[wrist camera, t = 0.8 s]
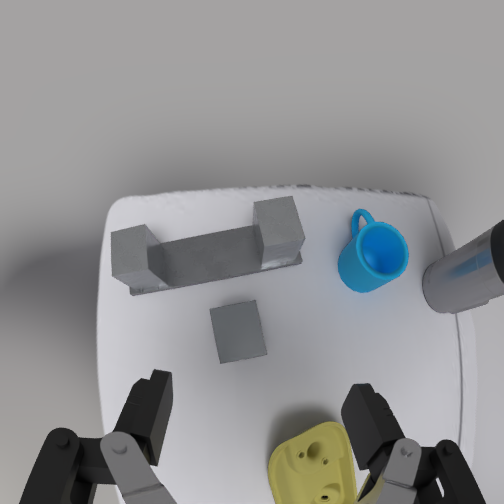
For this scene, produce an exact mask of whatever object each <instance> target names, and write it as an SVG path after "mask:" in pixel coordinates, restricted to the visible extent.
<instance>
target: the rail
mask: <svg viewBox="0 0 504 504" xmlns="http://www.w3.org/2000/svg"><path fill="white" fill-rule="evenodd" d="M304 240H305V236H304V232H303V229H302V226H301V222H300V219H299V216H298V213H297V209H296V206H295V203H294V200H293V197H292V196H288V197H282V198H276V199H270V200H264V201H258V202H254V210H253V226H247V227H242V228H237V229H231V230H226V231H221V232H216V233H211V234H206V235H201V236H196V237H191V238H186V239H181V240H176V241H171V242H166V243H161V244H160V243H159V241H158V240H157V239H156V238H155V236H154V235H153V234H152V232H151V231H150V230H149V229H148V227H147V226H146V225H145V224H144V225H139V226H135V227H131V228H127V229H123V230H118V231H114V232H111V264H112V277H114V278H116V279H117V280H119V281H121V282H123V283H124V284H126V285H128V286H129V287H130V295H132V296H135V295H141V294H147V293H152V292H158V291H164V290H169V289H175V288H180V287H185V286H191V285H196V284H202V283H207V282H212V281H217V280H223V279H228V278H233V277H238V276H243V275H248V274H253V273H258V272H263V271H268V270H273V269H278V268H283V267H288V266H292V265H297V264H301V263H302V258H301V254H300V249H301V247H302V245H303V242H304Z"/></svg>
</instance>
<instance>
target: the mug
mask: <svg viewBox="0 0 504 504" xmlns="http://www.w3.org/2000/svg"><path fill="white" fill-rule="evenodd" d="M361 215H362V216H363V217H364V218H365V220H366V222H367V225H366V226H365V227H363V228H362V229H361V230H360V231H359V218H360V216H361ZM351 227H352V238H353V239H352V241H351V242H350V243H349V244H348V245H347V246H346V247H345V248H344V250H343V251H342V253H341V254H340V256H339V260H338V272H339V274H340V277H341V279H342V281H343V282H344V283H345V284H346V286H348V287H349V288H350V289H352V290H353V291H357V292H360V293H365V292H370V291H372V290H374V289H376V288H378V287H380V286H382V285H384V284H386V283H388V282H389V281H391V280H393V279H395V278H397V277H399V276H400V275H401V274H402V273H403V272H404V271H405V269H406V266H407V264H408V257H409V253H408V247H407V244H406V242H405V240H404V238H403V236H402V235H401V234H400V232H399V231H398V230H397V229H395V228H394V227H393V226H391V225H389V224H387V223H384V222H375V221H374V219H373V218H372V216H371V214H370V213H369V212H367V211H366V210H364V209H358V210H356V211H355V212H354V214H353V217H352V223H351Z"/></svg>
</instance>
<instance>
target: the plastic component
mask: <svg viewBox="0 0 504 504" xmlns="http://www.w3.org/2000/svg"><path fill="white" fill-rule="evenodd" d="M324 460H325V461H324ZM268 478H269V484H270V487H271V490H272V494H273V497H274V500H275V503H276V504H353V503H354V501H355V500H356V498H357V488H356V480H355V472H354V465H353V458H352V451H351V446H350V441H349V437H348V434H347V432H346V430H345V428H344V427H343V426H342V425H341V424H339V423H337V422H332V421H328V422H323V423H320V424H318V425H315V426H313V427H311V428H310V429H308V430H306V431H304V432H303V433H301V434H299V435H297V436H295V437H293V438H291V439H289V440H287V441H285V442H283V443H282V444H280V445H279V446H278V447H277V448H276V449H275V450H274V452H273V453H272V455H271V457H270V460H269V465H268ZM322 496H328V497H327V498H322Z"/></svg>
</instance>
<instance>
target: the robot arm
mask: <svg viewBox="0 0 504 504" xmlns="http://www.w3.org/2000/svg"><path fill="white" fill-rule="evenodd" d="M423 291H424V295H425V298H426V300H427V302H428V304H429V305H430V306H431V308H432V309H434V310H435V311H436V312H439V313H447V312H450V313H452V314H455V313H459V312H462V311H466V310H469V309H472V308H476V307H479V306H483V305H486V304H487V303H488V302H489V300H490V299H493V298H496V297H499V296H501V295H504V220H502V221H501V222H499V223H498V224H496V225H495V226H494V227H492V228H491V229H489V230H488V231H486V232H484V233H483V234H482V235H480V236H478V237H477V238H475V239H474V240H472V241H470V242H469V243H467V244H466V245H464V246H462V247H461V248H459V249H457V250H456V251H454V252H452V253H451V254H449V255H447V256H446V257H444V258H442V259H440V260H439V261H437V262H435V263H433V264H432V265H430V266H429V267H428V269H427V270H426V272H425V274H424V278H423ZM172 404H173V386H172V373H171V372H167V371H162V370H156V369H154V370H153V373H152V375H151V378H150V380H147V379H143V378H141V379H140V380H138V381H137V382H136V383H135V384H134V385H133V387H132V389H131V391H130V393H129V396H128V398H127V400H126V403H125V405H124V407H123V409H122V412H121V414H120V416H119V419H118V421H117V424H116V426H115V428H114V430H113V431H112V432H111V433H109V434H107V435H105V436H104V437H103V438H95V439H94V438H80V437H78V436H77V435H76V434H75V433H74V432H73V431H72V430H70V429H67V428H56V429H54V430H52V431H51V432H50V433H49V434H48V436H47V438H46V440H45V442H44V444H43V446H42V448H41V450H40V453H39V455H38V457H37V459H36V462H35V464H34V467H33V469H32V471H31V474H30V476H29V478H28V481H27V484H26V486H25V489H24V492H23V494H22V497H21V500H20V503H19V504H93V499H94V496H95V492H96V488H97V484H113V485H117V486H118V488H119V490H120V492H121V494H122V497H123V499H124V501H125V503H126V504H177V503H176V502H175V500H174V499H173V498H172V496H171V495H170V493H169V492H168V490H167V489H166V488H165V486H164V485H163V484H161V483H160V481H159V480H158V478H157V477H156V475H155V474H154V472H153V470H152V469H151V467H150V465H153V466H158V462H159V458H160V453H161V449H162V445H163V441H164V437H165V433H166V429H167V425H168V421H169V417H170V413H171V409H172ZM341 416H342V420H343V423H344V426H345V428H346V431H347V434H348V437H349V440H350V443H351V446H352V449H353V452H354V455H355V458H356V461H357V464H358V467H359V470H365V469H369V471H370V473H369V474H368V476H367V478H366V480H365V482H364V484H363V486H362V488H361V490H360V492H359V494H358V496H357V498H356V500H355V501H354V503H353V504H486V503H485V500H484V498H483V496H482V494H481V491H480V489H479V487H478V485H477V483H476V481H475V479H474V477H473V475H472V472H471V470H470V468H469V466H468V464H467V462H466V460H465V459H464V457H463V455H462V453H461V451H460V449H459V447H458V446H457V444H456V443H455V442H453V441H451V440H442V441H440V442H439V443H438V444H437V445H436V446H435V447H420V445H419V444H418V443H417V442H416V441H414V440H412V439H409V438H406V437H405V436H404V434H403V432H402V430H401V428H400V426H399V424H398V422H397V420H396V418H395V416H393V413H392V411H391V409H390V407H389V405H388V403H387V401H386V400H385V399H384V398H383V397H382V396H381V395H380V394H379V393H375V392H374V390H373V388H372V386H371V385H370V384H369V383H366V384H354V385H353V386H352V387H351V389H350V391H349V393H348V395H347V397H346V399H345V402H344V404H343V406H342V409H341ZM437 478H439V480H440V482H441V485H442V487H443V490H444V497H442V494H441V492H440V489H439V487H438V484H437V482H436V479H437Z"/></svg>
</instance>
